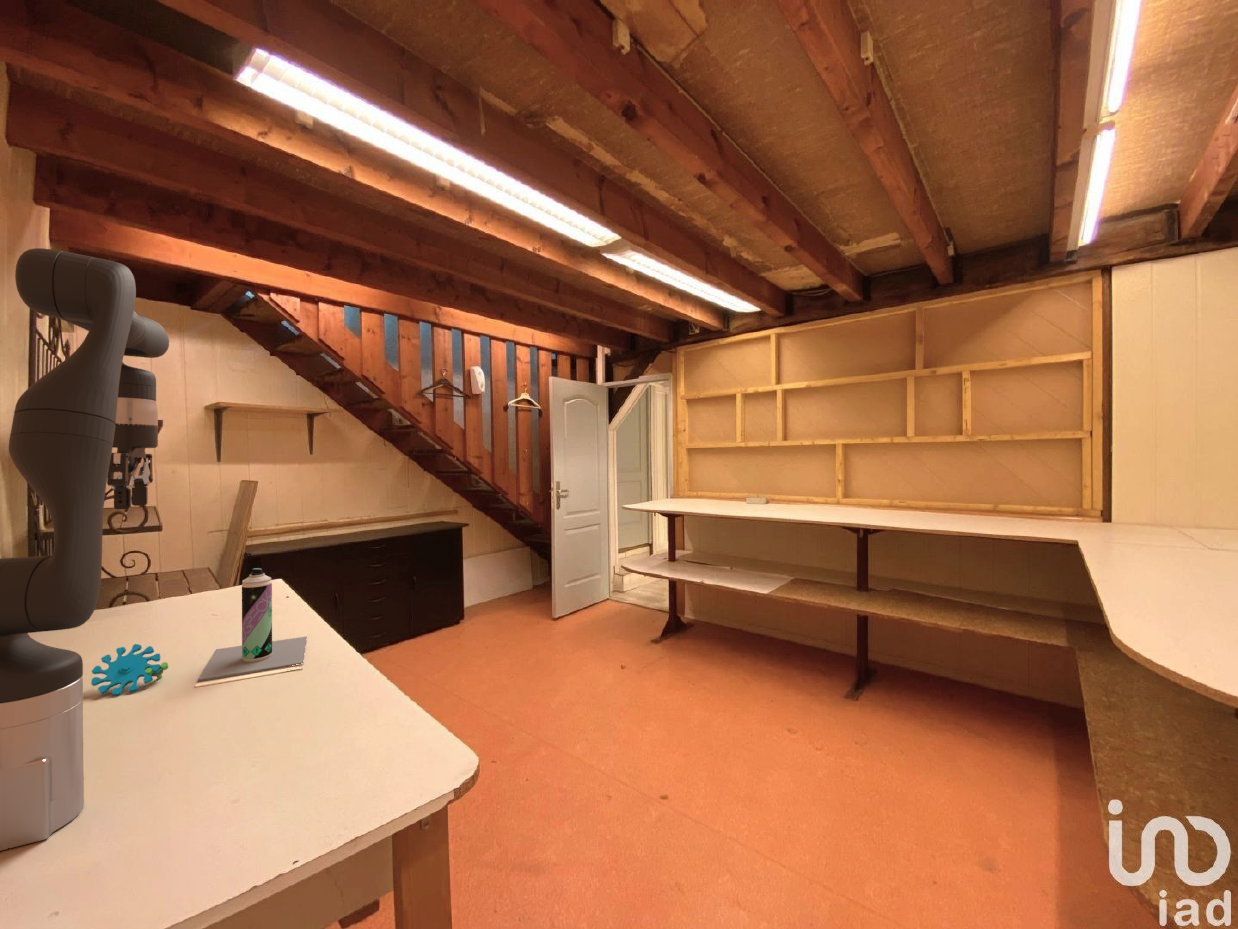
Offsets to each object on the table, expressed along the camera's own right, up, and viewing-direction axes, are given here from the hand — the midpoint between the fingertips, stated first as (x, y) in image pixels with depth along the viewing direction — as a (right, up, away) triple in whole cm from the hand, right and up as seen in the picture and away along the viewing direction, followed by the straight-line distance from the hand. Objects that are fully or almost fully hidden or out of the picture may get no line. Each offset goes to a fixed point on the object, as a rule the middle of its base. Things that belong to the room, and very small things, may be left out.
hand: (131, 507), depth 98 cm
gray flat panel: (+13, -35, +15) cm, 41 cm away
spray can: (+13, -35, +16) cm, 41 cm away
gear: (-2, -36, +2) cm, 36 cm away
